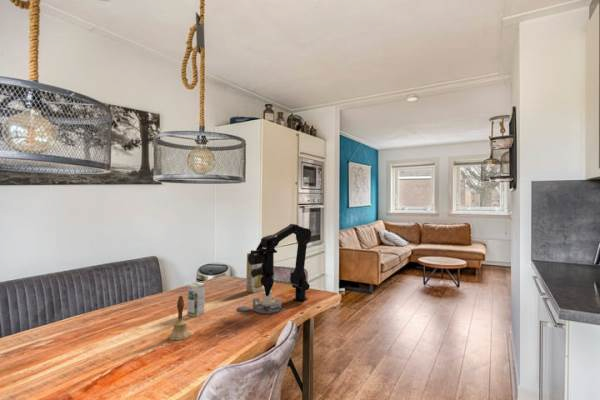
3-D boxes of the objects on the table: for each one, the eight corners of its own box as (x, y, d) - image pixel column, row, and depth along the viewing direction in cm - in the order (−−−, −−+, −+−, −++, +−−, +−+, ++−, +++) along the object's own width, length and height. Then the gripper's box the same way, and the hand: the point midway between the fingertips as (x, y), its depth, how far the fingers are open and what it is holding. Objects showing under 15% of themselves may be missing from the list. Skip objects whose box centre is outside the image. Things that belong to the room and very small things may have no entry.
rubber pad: (242, 306, 163) (242, 305, 163) (253, 308, 159) (253, 307, 159) (233, 310, 156) (233, 309, 156) (245, 312, 153) (245, 312, 153)
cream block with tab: (256, 304, 156) (257, 292, 156) (257, 301, 161) (257, 289, 161) (277, 304, 157) (277, 292, 157) (277, 301, 161) (277, 289, 161)
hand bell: (169, 333, 129) (169, 294, 129) (190, 330, 132) (191, 292, 132) (168, 342, 121) (169, 300, 121) (191, 338, 124) (191, 298, 124)
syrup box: (186, 315, 149) (187, 284, 149) (196, 311, 154) (196, 281, 154) (195, 317, 147) (196, 286, 147) (204, 313, 152) (205, 283, 152)
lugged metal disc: (251, 314, 151) (252, 303, 151) (254, 304, 165) (254, 294, 165) (281, 314, 152) (281, 303, 152) (280, 304, 166) (281, 294, 166)
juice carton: (254, 293, 185) (255, 252, 185) (244, 291, 189) (244, 251, 189) (264, 289, 193) (264, 250, 193) (254, 287, 197) (254, 249, 197)
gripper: (253, 258, 168) (252, 288, 168) (250, 266, 149) (249, 299, 149) (274, 258, 168) (273, 288, 168) (273, 266, 150) (273, 299, 150)
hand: (267, 293), depth 159 cm, fingers open, 9 cm apart
